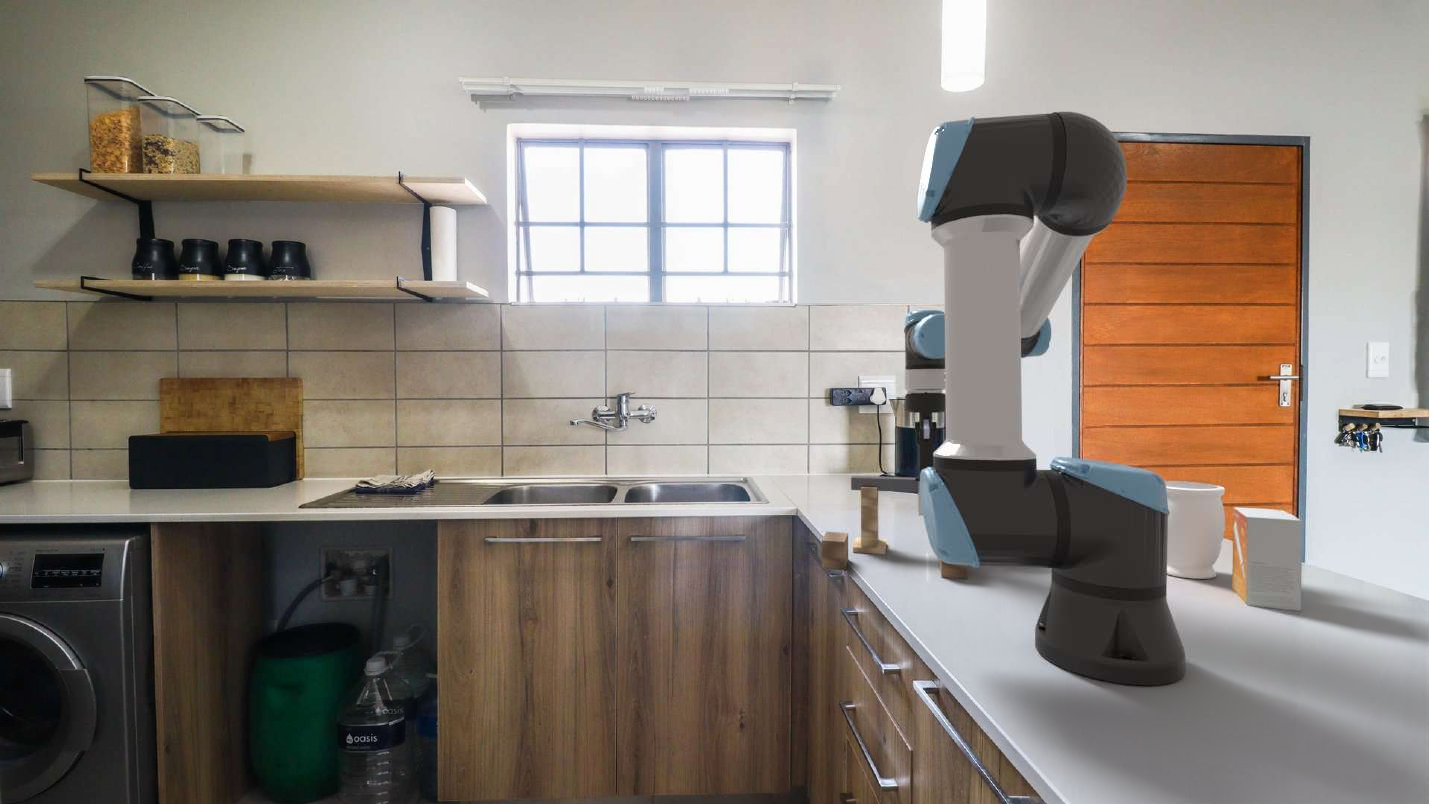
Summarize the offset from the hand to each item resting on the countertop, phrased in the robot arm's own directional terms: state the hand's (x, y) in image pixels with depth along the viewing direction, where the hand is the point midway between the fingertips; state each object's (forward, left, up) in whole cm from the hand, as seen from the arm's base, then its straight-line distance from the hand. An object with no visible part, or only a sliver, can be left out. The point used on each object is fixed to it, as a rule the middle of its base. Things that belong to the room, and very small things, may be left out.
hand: (925, 513), depth 124 cm
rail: (0, 0, +4) cm, 4 cm away
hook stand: (0, 0, -7) cm, 7 cm away
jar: (+27, -32, -8) cm, 43 cm away
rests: (-13, -5, -7) cm, 16 cm away
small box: (+22, -45, -8) cm, 51 cm away
